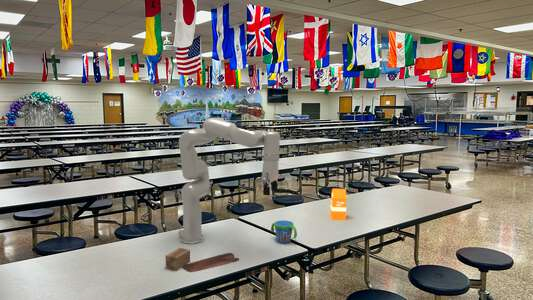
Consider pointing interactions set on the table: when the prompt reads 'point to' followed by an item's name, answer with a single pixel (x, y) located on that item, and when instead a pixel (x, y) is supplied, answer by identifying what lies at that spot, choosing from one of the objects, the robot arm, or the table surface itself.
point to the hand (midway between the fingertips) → (270, 192)
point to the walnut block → (177, 259)
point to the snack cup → (283, 230)
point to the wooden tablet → (210, 262)
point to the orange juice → (338, 204)
